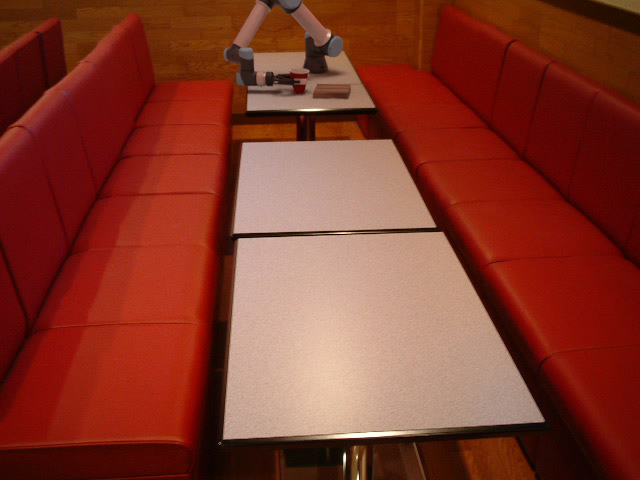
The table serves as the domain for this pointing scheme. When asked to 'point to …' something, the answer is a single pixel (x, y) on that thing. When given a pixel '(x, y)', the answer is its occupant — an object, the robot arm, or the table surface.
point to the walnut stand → (332, 91)
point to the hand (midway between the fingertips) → (308, 79)
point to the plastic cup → (299, 74)
